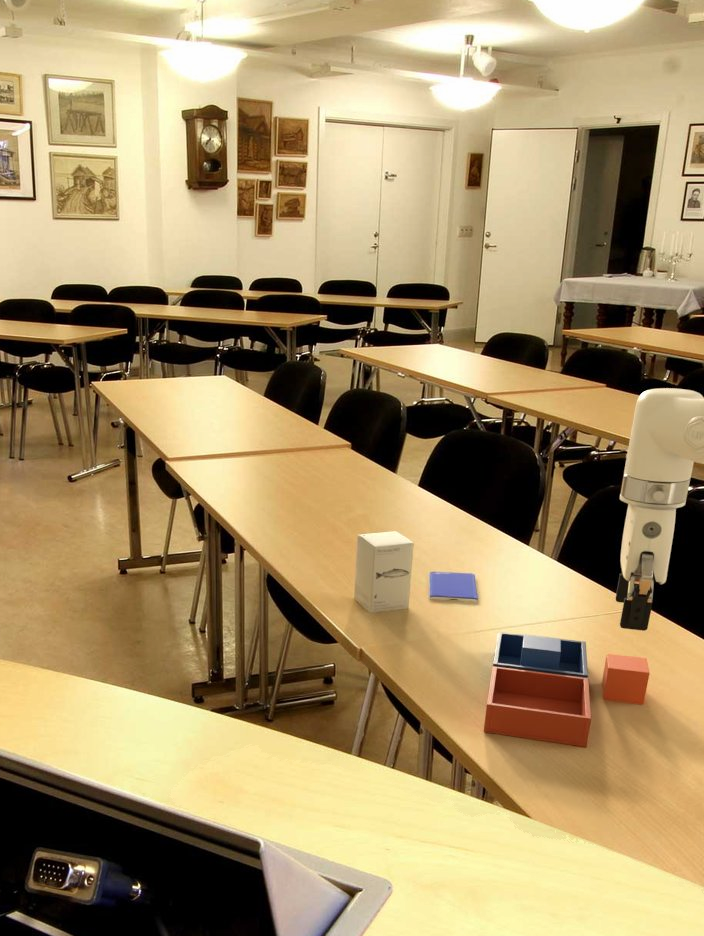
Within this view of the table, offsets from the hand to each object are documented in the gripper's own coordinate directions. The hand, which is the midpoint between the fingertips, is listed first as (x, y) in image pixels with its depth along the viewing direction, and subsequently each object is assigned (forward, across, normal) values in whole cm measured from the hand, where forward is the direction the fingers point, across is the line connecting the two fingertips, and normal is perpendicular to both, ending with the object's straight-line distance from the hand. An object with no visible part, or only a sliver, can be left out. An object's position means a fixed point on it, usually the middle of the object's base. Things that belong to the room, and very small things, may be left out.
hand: (630, 615), depth 121 cm
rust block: (+12, 0, -1) cm, 12 cm away
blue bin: (+12, +2, +10) cm, 16 cm away
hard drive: (+12, +35, +25) cm, 45 cm away
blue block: (+11, +2, +10) cm, 15 cm away
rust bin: (+12, -11, +10) cm, 19 cm away
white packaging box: (+12, +24, +36) cm, 45 cm away
